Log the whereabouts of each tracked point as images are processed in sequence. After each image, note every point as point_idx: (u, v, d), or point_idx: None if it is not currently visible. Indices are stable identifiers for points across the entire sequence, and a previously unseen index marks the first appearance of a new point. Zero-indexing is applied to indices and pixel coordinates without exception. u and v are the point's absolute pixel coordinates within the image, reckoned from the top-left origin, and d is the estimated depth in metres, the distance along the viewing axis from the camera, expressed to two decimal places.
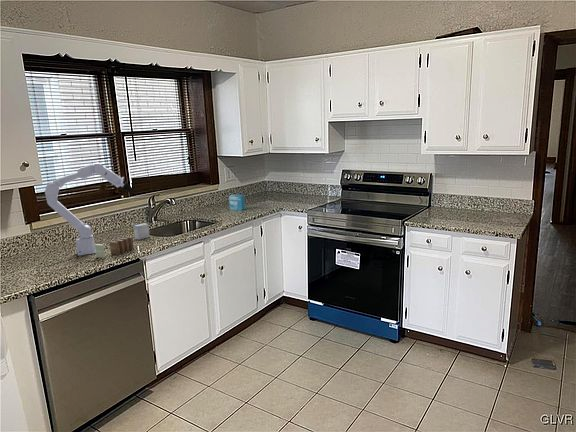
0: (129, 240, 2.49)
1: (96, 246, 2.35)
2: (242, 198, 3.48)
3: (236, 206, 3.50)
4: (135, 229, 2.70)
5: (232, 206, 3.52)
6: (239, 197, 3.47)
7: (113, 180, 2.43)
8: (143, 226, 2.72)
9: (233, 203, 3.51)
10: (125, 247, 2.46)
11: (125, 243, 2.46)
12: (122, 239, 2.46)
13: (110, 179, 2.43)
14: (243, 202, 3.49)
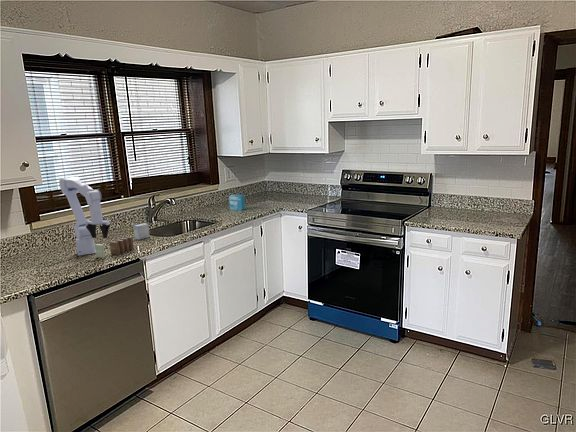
0: (129, 240, 2.49)
1: (96, 246, 2.35)
2: (242, 198, 3.48)
3: (236, 206, 3.50)
4: (135, 229, 2.70)
5: (232, 206, 3.52)
6: (239, 197, 3.47)
7: None
8: (143, 226, 2.72)
9: (233, 203, 3.51)
10: (125, 247, 2.46)
11: (125, 243, 2.46)
12: (122, 239, 2.46)
13: (90, 212, 2.31)
14: (243, 202, 3.49)
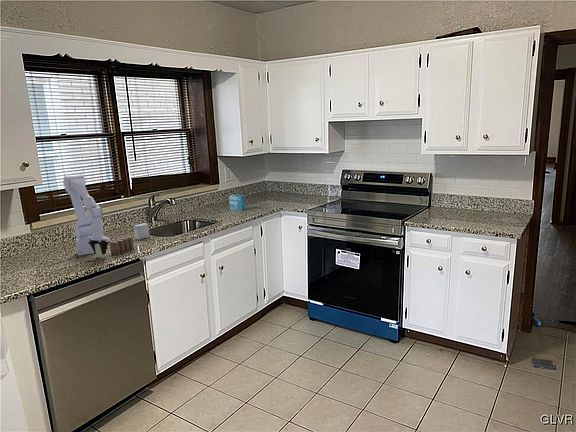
0: (129, 240, 2.49)
1: (96, 246, 2.35)
2: (242, 198, 3.48)
3: (236, 206, 3.50)
4: (135, 229, 2.70)
5: (232, 206, 3.52)
6: (239, 197, 3.47)
7: None
8: (143, 226, 2.72)
9: (233, 203, 3.51)
10: (125, 247, 2.46)
11: (125, 243, 2.46)
12: (122, 239, 2.46)
13: (91, 229, 2.33)
14: (243, 202, 3.49)
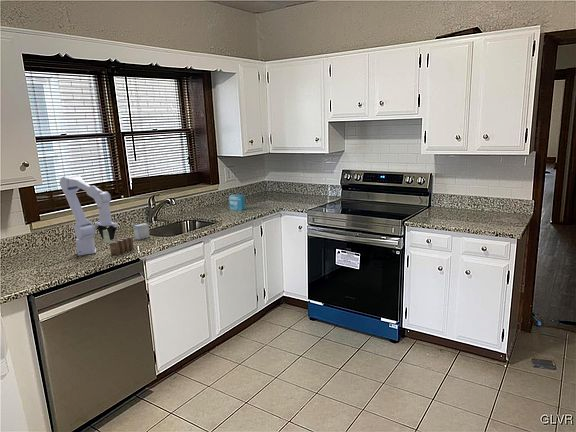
0: (129, 240, 2.49)
1: (104, 232, 2.35)
2: (242, 198, 3.48)
3: (236, 206, 3.50)
4: (135, 229, 2.70)
5: (232, 206, 3.52)
6: (239, 197, 3.47)
7: None
8: (143, 226, 2.72)
9: (233, 203, 3.51)
10: (125, 247, 2.46)
11: (125, 243, 2.46)
12: (122, 239, 2.46)
13: (99, 214, 2.32)
14: (243, 202, 3.49)
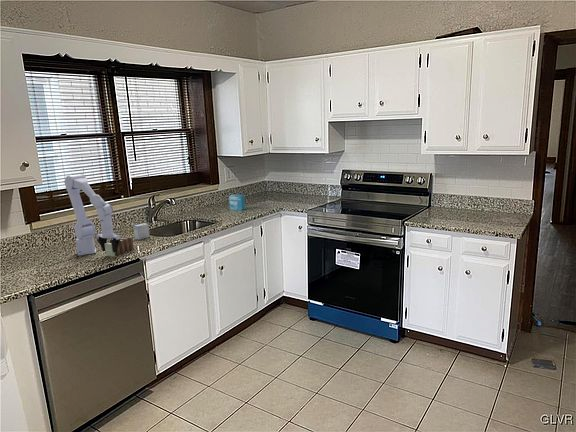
0: (129, 240, 2.49)
1: (106, 245, 2.37)
2: (242, 198, 3.48)
3: (236, 206, 3.50)
4: (135, 229, 2.70)
5: (232, 206, 3.52)
6: (239, 197, 3.47)
7: None
8: (143, 226, 2.72)
9: (233, 203, 3.51)
10: (125, 247, 2.46)
11: (125, 243, 2.46)
12: (122, 239, 2.46)
13: (101, 227, 2.33)
14: (243, 202, 3.49)
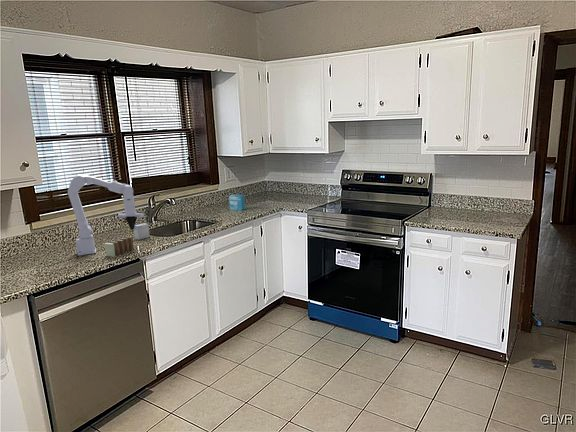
0: (129, 240, 2.49)
1: (106, 245, 2.37)
2: (242, 198, 3.48)
3: (236, 206, 3.50)
4: (135, 229, 2.70)
5: (232, 206, 3.52)
6: (239, 197, 3.47)
7: None
8: (143, 226, 2.72)
9: (233, 203, 3.51)
10: (125, 247, 2.46)
11: (125, 243, 2.46)
12: (122, 239, 2.46)
13: (127, 206, 2.47)
14: (243, 202, 3.49)
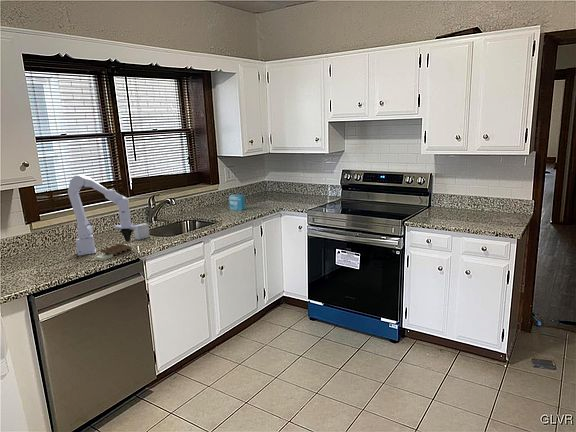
0: (123, 247, 2.44)
1: None
2: (242, 198, 3.48)
3: (236, 206, 3.50)
4: None
5: (232, 206, 3.52)
6: (239, 197, 3.47)
7: None
8: (143, 226, 2.72)
9: (233, 203, 3.51)
10: (122, 250, 2.44)
11: (119, 249, 2.42)
12: None
13: (122, 218, 2.44)
14: (243, 202, 3.49)
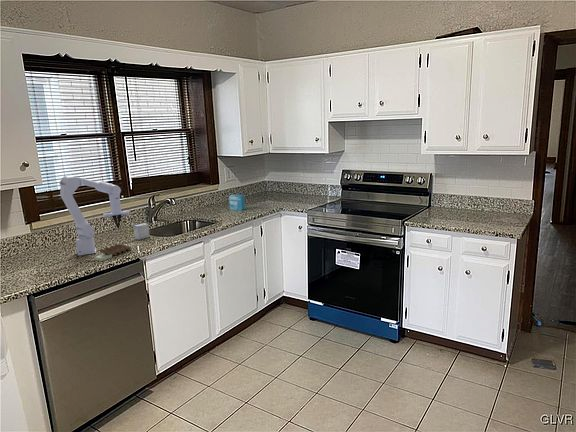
0: None
1: None
2: (242, 198, 3.48)
3: (236, 206, 3.50)
4: (135, 229, 2.70)
5: (232, 206, 3.52)
6: (239, 197, 3.47)
7: None
8: (143, 226, 2.72)
9: (233, 203, 3.51)
10: (121, 250, 2.44)
11: None
12: None
13: (115, 205, 2.53)
14: (243, 202, 3.49)
